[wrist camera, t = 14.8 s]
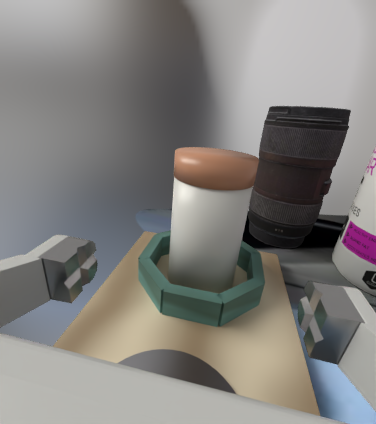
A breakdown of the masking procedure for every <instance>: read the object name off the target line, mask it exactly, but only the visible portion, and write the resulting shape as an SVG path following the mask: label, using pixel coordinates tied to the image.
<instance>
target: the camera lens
mask: <svg viewBox="0 0 376 424" xmlns="http://www.w3.org/2000/svg"><path fill="white" fill-rule="evenodd" d="M350 112H351V111H350V110H347V109H338V108H337V109H336V108H326V107H305V106H304V107H303V106H272V107H270V108H269V111H268V115H267V118H266V120H265V123H264V128H263V133H262V138H261V143H260V150H259V163H258V168H257V173H256V178H255V182H254V186H253V189H252V193H251V198H250V205H249V214H248V218H249V220H250V224H249V231H250V233H251V234H252V235H253V236H254V237H255V238H256V239H258V240H260V241H261V242H263V243H266V244H268V245H271V246H275V247H280V248H295V247H298V246H300V245H301V244H302V243H303V240H304V238H305V236H307V235H308V234H309V233H310V232H311V230H312V228H313V225H314V223H315V222H316V220H317V218H318V215H319V212H320V209H321V206H322V202H323V201H322V200H323V197H324V195H326V194H327V193H328V191H329V188H330V185H331V183H332V181H331V179H330V176H331V173H332V169H333V167H334V166H335V165H336V162H337V159H338V157H339V155H340V152H341V148H342V146H343V143H344V140H345V137H346V134H347V130H348V128H349V126H348V122H349V116H350Z"/></svg>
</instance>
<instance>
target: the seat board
mask: <svg viewBox="0 0 376 424" xmlns="http://www.w3.org/2000/svg"><path fill="white" fill-rule="evenodd" d="M170 236H171V230H170V231H166V232H162V233H152V232H146V231H145V232H144V233H143V234H142V236H141V237H140V238H139V239H138V241H137V242H136V243H135V244H134V246H133V247H132V248H131V249H130V251H129V252H128V253H127V254H126V256H125V257H124V258H123V259H122V261H121V262H120V263H119V264H118V266H117V267H116V268H115V269H114V271H113V272H112V273H111V274H110V276H109V277H108V278H107V279H106V281H105V282H104V283H103V284H102V286H101V287H100V288H99V289H98V291H97V292H96V293H95V294H94V296H93V297H92V298H91V299H90V301H89V302H88V303H87V304H86V306H85V307H84V308H83V309H82V311H81V312H80V313H79V314H78V316H77V317H76V318H75V319H74V321H73V322H72V323H71V324H70V325H69V327H68V328H67V329H66V331H65V332H64V333H63V334H62V335H61V337H60V338H59V339H58V340H57V342H56V343H55V344H54V346H53V347H56V348H60V349H64V350H68V351H72V352H75V353H79V354H83V355H87V356H91V357H94V358H98V359H102V360H106V361H110V362H114V363H117V364H121V365H125V366H129V367H133V368H137V369H141V370H144V371H148V372H152V373H156V374H160V375H164V376H168V377H171V378H175V379H179V380H183V381H187V382H191V383H195V384H198V385H202V386H206V387H210V388H214V389H218V390H221V391H225V392H229V393H233V394H237V395H241V396H245V397H248V398H252V399H256V400H260V401H264V402H268V403H271V404H275V405H279V406H283V407H287V408H291V409H295V410H298V411H302V412H306V413H310V414H314V415H318V416H320V413H319V409H318V405H317V402H316V398H315V394H314V390H313V387H312V383H311V379H310V376H309V372H308V368H307V364H306V361H305V357H304V353H303V350H302V346H301V342H300V338H299V335H298V331H297V327H296V324H295V320H294V316H293V312H292V309H291V305H290V301H289V298H288V294H287V290H286V286H285V283H284V279H283V275H282V272H281V268H280V264H279V260H278V257H277V254H271V253H265V252H260V251H257V250H255V249H254V248H252V247H251V246H249V245H248V244H246V243H245V242H243V241H241V246H240V251H239V256H238V261H237V266H236V270H235V275H234V280H233V285H232V288H231V289H228V290H226V291H224V292H222V293H220V294H217V293H213V292H208V291H203V290H198V289H193V288H189V287H184V286H179V285H174V284H171V283H170V281H169V278H168V267H169V252H170Z"/></svg>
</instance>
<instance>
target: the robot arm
mask: <svg viewBox="0 0 376 424" xmlns="http://www.w3.org/2000/svg"><path fill="white" fill-rule="evenodd" d="M95 251H96V247H95V243H94V242H93V241H90V240H85V239H80V238H75V237H69V236H64V235H55V236H53V237H52V238H50V239H49V240H47V241H46V242H44V243H43V244H41V245H40V246H38V247H37V248H35V249H34V250H32V251H31V252H29V253H28V254H26V255H18V256H14V257H11V258H7V259H3V260H0V328H1V327H2V326H4V325H6V324H8V323H10V322H12V321H13V320H15V319H17V318H19V317H21V316H23V315H24V314H26V313H28V312H30V311H31V310H34V309H35V308H37V307H39V306H41V305H42V304H44V303H46V302H48V301H50V299H52V300H57V301H62V302H68V303H72V302H73V301H74V300H75V299H76V297H77V296H78V295H79V294H80V293H81V292H82V286H83V285H85V284H87V283H90V281H91V280H92V279H93V278H94V276H95V273H96V271H97V259H96V258H95V257H94V255H93V254H94V253H95ZM304 291H305V293H306V296H305V297H304V298H302V299H301V300H300V303H299V306H298V321H299V325H300V328H301V329H302V330H303V331H304V332H305V336H304V338H303V339H304V342H305V345H306V349H307V352H308V355H309V357H310V358H314V359H318V360H322V361H325V362H329V363H333V364H337V365H338V367H339V368H340V369H341V371H342V372H343V373H344V374H345V375H346V377H347V378H348V379H349V380H350V381H351V383H352V384H353V385H354V386H355V387H356V389H357V390H358V391H359V392H360V393H361V395H362V396H363V397H364V398H365V399H366V401H367V402H368V403H369V404H370V405H371V407H372V408H373V409H374V410H375V411H376V313H375V311H374V310H373V309H372V307H371V306H370V304H369V303H368V301H367V300H366V299H365V297H364V296H363V294H362V293H361V291H360V290H358V289H356V288H351V287H344V286H336V285H330V284H324V283H318V282H313V281H308V283H307V284H306V286H305V289H304ZM0 424H348V423H344V422H341V421H337V420H333V419H329V418H325V417H321V416H318V415H314V414H310V413H306V412H302V411H298V410H295V409H291V408H287V407H283V406H279V405H275V404H271V403H268V402H264V401H260V400H256V399H252V398H248V397H245V396H241V395H237V394H233V393H229V392H225V391H221V390H218V389H214V388H210V387H206V386H202V385H198V384H195V383H191V382H187V381H183V380H179V379H175V378H171V377H168V376H164V375H160V374H156V373H152V372H148V371H144V370H141V369H137V368H133V367H129V366H125V365H121V364H117V363H114V362H110V361H106V360H102V359H98V358H94V357H91V356H87V355H83V354H79V353H75V352H72V351H68V350H64V349H60V348H56V347H52V346H49V345H45V344H41V343H37V342H33V341H29V340H25V339H22V338H18V337H14V336H10V335H6V334H2V333H0Z"/></svg>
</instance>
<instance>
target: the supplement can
mask: <svg viewBox="0 0 376 424" xmlns="http://www.w3.org/2000/svg"><path fill="white" fill-rule="evenodd" d="M332 260H333V262H334V263H335V265H336V267H337V269H338V270H339V272H340V273H341V275H342V276H343V277H345V278H346V279H347V280H348V281H349V282H350V283H352V284H353V285H355V286H357V287H358V288H360V289H362V290H363V291H365V292H367V293H369V294H372V295H374V296H376V146H375V149H374V151H373V154H372V156H371V159H370V161H369V164H368V166H367V169H366V171H365V174H364V176H363V179H362V181H361V184H360V186H359V189H358V191H357V194H356V196H355V199H354V201H353V204H352V206H351V209H350V211H349V213H348V216H347V218H346V221H345V223H344V226H343V228H342V231H341V233H340V236H339V238H338V241H337V243H336V246H335V248H334V251H333V253H332Z"/></svg>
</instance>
